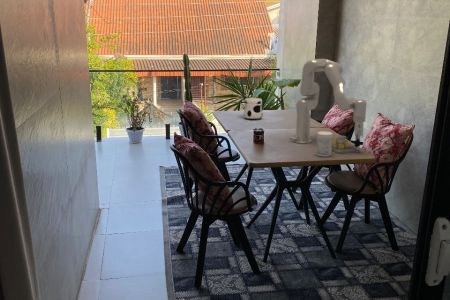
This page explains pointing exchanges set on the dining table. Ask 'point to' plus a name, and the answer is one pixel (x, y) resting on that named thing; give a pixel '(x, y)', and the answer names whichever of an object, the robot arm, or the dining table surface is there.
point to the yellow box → (342, 146)
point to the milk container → (253, 108)
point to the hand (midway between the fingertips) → (357, 146)
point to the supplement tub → (324, 144)
